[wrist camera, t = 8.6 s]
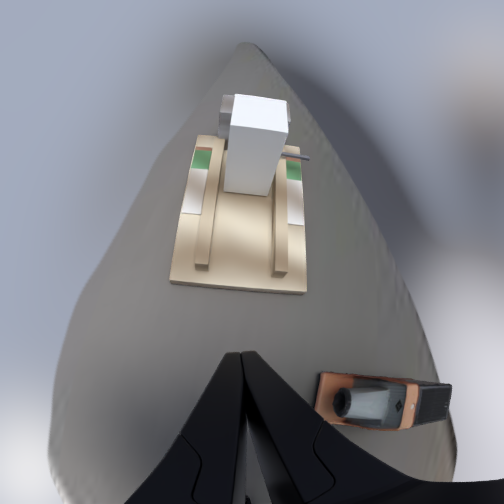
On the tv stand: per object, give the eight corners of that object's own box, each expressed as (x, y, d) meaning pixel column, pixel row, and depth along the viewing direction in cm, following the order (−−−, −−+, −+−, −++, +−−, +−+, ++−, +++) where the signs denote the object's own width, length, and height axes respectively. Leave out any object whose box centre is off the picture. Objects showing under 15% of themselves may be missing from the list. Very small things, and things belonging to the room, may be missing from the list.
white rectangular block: (305, 201, 25) (337, 142, 18) (223, 191, 24) (230, 124, 17) (303, 169, 27) (329, 110, 20) (227, 159, 26) (235, 93, 19)
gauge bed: (302, 294, 23) (330, 271, 18) (171, 283, 22) (158, 255, 16) (296, 147, 30) (311, 108, 24) (199, 135, 29) (200, 93, 23)
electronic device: (315, 370, 21) (362, 370, 14) (404, 377, 21) (461, 372, 14) (306, 420, 19) (349, 442, 12) (397, 420, 19) (453, 428, 13)
